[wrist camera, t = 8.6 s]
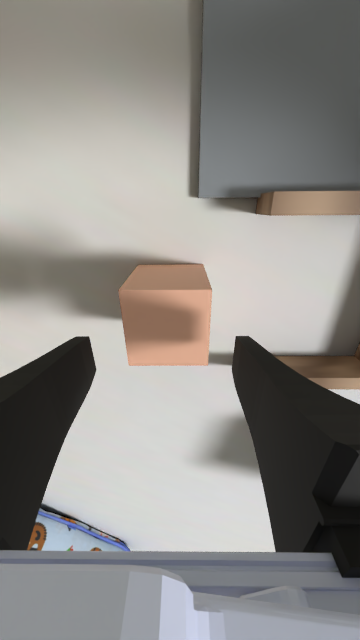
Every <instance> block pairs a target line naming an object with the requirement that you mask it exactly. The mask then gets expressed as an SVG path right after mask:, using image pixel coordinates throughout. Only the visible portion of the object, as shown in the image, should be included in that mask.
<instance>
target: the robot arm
mask: <svg viewBox="0 0 360 640" xmlns="http://www.w3.org/2000/svg"><path fill="white" fill-rule="evenodd" d="M95 372H96V366H95V361H94V357H93V352H92V348H91V343H90V339H89V337H75V338H73V339H71V340H69V341H67V342H65V343H63V344H62V345H60V346H58V347H57V348H55V349H53V350H51V351H50V352H48V353H46V354H45V355H43V356H41V357H39V358H38V359H36V360H34V361H32V362H30V363H28V364H27V365H25V366H23V367H21V368H19V369H17V370H15V371H13V372H11V373H9V374H7V375H5V376H3V377H1V378H0V640H360V404H357V403H355V402H353V401H351V400H348V399H346V398H344V397H342V396H340V395H338V394H336V393H334V392H332V391H330V390H328V389H326V388H324V387H322V386H320V385H318V384H316V383H315V382H313V381H311V380H309V379H308V378H306V377H304V376H303V375H301V374H299V373H298V372H296V371H295V370H293V369H292V368H290V367H289V366H287V365H286V364H284V363H283V362H282V361H280V360H279V359H277V358H276V357H275V356H273V355H272V354H271V353H270V352H268V351H267V350H266V349H264V348H263V347H262V346H261V345H259V344H258V343H257V342H256V341H254V340H253V339H252V338H250V337H249V336H236V339H235V348H234V356H233V364H232V373H233V378H234V383H235V388H236V391H237V394H238V397H239V400H240V403H241V406H242V409H243V411H244V414H245V417H246V420H247V423H248V426H249V429H250V432H251V436H252V439H253V443H254V447H255V451H256V456H257V460H258V464H259V469H260V474H261V478H262V483H263V487H264V492H265V497H266V502H267V507H268V512H269V517H270V523H271V528H272V534H273V539H274V545H275V550H276V552H159V551H27V548H28V545H29V542H30V538H31V535H32V532H33V528H34V525H35V522H36V518H37V515H38V512H39V509H40V506H41V503H42V500H43V497H44V494H45V491H46V488H47V485H48V482H49V479H50V477H51V474H52V471H53V468H54V465H55V463H56V460H57V457H58V455H59V452H60V450H61V447H62V445H63V442H64V440H65V437H66V435H67V433H68V431H69V429H70V427H71V425H72V423H73V421H74V419H75V417H76V415H77V413H78V411H79V409H80V407H81V405H82V403H83V401H84V399H85V397H86V395H87V393H88V391H89V389H90V387H91V384H92V381H93V379H94V375H95Z"/></svg>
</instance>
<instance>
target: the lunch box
mask: <svg viewBox="0 0 360 640" xmlns="http://www.w3.org/2000/svg"><path fill="white" fill-rule="evenodd" d="M27 551H130V550H129V548H128V547H127V546H126V545H125V544H124V543H122V542H121V541H120V540H119V539H115V538H112V537H111V536H109V535H106V534H104V533H102V532H100V531H98V530H95V529H93V528H91V527H88V526H87V525H85V524H83V523H81V522H78V521H75V520H72V519H69V518H65V517H62V516H59V515H57V514H54V513H51V512H46V511H44V510H42V509H41V508H40V509H39V512H38V515H37V518H36V522H35V525H34V528H33V532H32V535H31V538H30V542H29V545H28V548H27Z"/></svg>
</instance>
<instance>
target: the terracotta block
mask: <svg viewBox="0 0 360 640" xmlns="http://www.w3.org/2000/svg"><path fill="white" fill-rule="evenodd" d="M118 292H119V299H120V306H121V313H122V320H123V328H124V335H125V342H126V349H127V356H128V363H129V366H150V365H208V354H209V335H210V317H211V299H212V288H211V285H210V283H209V280H208V277H207V274H206V271H205V268H204V265H203V264H176V265H138V266H137V267H136V268H135V269H134V271H133V272H132V273H131V275H130V276H129V277H128V278H127V280H126V281H125V282H124V284H123V285H122V286H121V287H120V289H119V290H118Z"/></svg>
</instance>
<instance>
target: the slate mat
mask: <svg viewBox="0 0 360 640" xmlns="http://www.w3.org/2000/svg"><path fill="white" fill-rule="evenodd" d="M276 191H360V0H203V29H202V69H201V108H200V147H199V187H198V198H254V197H260V196H261V194H262V193H268V192H276Z"/></svg>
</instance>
